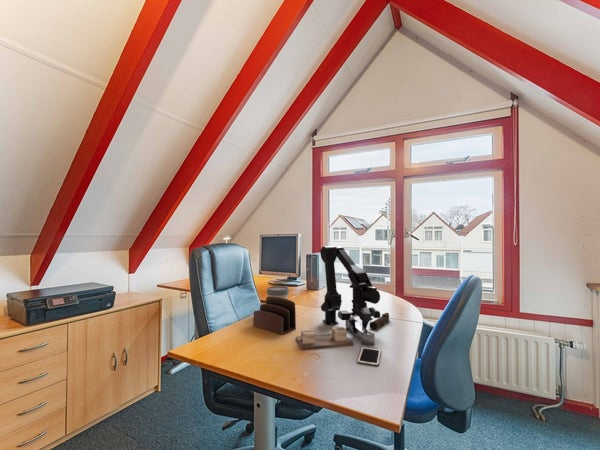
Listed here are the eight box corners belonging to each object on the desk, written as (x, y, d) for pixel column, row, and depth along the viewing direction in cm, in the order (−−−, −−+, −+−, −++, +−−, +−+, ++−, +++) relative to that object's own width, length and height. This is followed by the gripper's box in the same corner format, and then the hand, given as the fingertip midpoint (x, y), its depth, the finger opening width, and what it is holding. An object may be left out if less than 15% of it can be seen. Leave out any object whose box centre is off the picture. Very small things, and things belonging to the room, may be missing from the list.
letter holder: (267, 321, 150) (267, 294, 150) (296, 329, 138) (296, 300, 138) (252, 326, 142) (253, 298, 143) (282, 335, 130) (282, 304, 130)
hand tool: (376, 331, 137) (376, 321, 137) (369, 329, 139) (369, 319, 139) (393, 321, 151) (393, 313, 151) (386, 320, 153) (386, 311, 153)
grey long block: (343, 327, 141) (343, 319, 141) (354, 326, 142) (354, 318, 142) (364, 346, 118) (364, 336, 118) (376, 345, 119) (376, 335, 119)
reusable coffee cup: (262, 315, 159) (262, 288, 160) (275, 310, 170) (275, 285, 170) (280, 319, 153) (280, 291, 153) (293, 313, 163) (293, 287, 164)
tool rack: (295, 338, 126) (295, 327, 126) (342, 335, 131) (342, 324, 131) (301, 350, 114) (301, 337, 114) (353, 345, 119) (353, 333, 119)
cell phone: (381, 351, 114) (381, 348, 114) (378, 368, 100) (378, 365, 100) (361, 348, 117) (361, 346, 117) (356, 364, 103) (356, 361, 103)
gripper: (346, 304, 120) (346, 341, 120) (386, 302, 124) (386, 338, 124) (337, 298, 131) (337, 332, 131) (374, 296, 135) (374, 329, 135)
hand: (358, 333), depth 130 cm, fingers open, 4 cm apart
